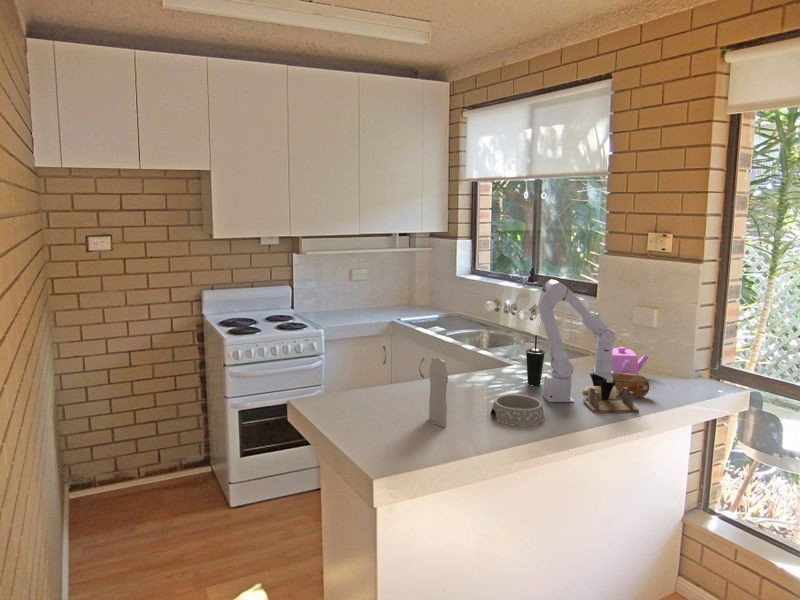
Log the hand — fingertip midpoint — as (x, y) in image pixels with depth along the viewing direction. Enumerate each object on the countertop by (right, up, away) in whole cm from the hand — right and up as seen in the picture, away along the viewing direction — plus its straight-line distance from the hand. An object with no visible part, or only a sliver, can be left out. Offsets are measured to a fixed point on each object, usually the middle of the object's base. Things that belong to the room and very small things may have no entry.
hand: (601, 395), depth 227 cm
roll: (0, -1, 0) cm, 1 cm away
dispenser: (-62, -5, -25) cm, 67 cm away
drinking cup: (-21, +1, +18) cm, 28 cm away
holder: (0, -3, -9) cm, 9 cm away
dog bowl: (-34, -5, -17) cm, 39 cm away
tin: (+12, -1, +6) cm, 13 cm away
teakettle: (+19, +3, +31) cm, 36 cm away
